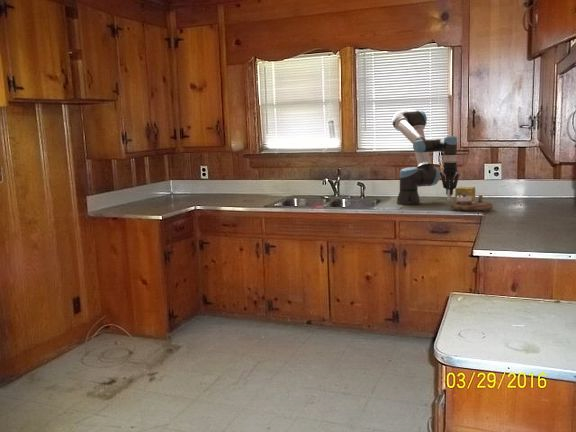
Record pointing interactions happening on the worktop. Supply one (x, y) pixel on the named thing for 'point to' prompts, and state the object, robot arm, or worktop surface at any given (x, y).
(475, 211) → the turntable base
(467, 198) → the cover
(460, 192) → the cheese
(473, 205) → the turntable
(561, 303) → the worktop surface
